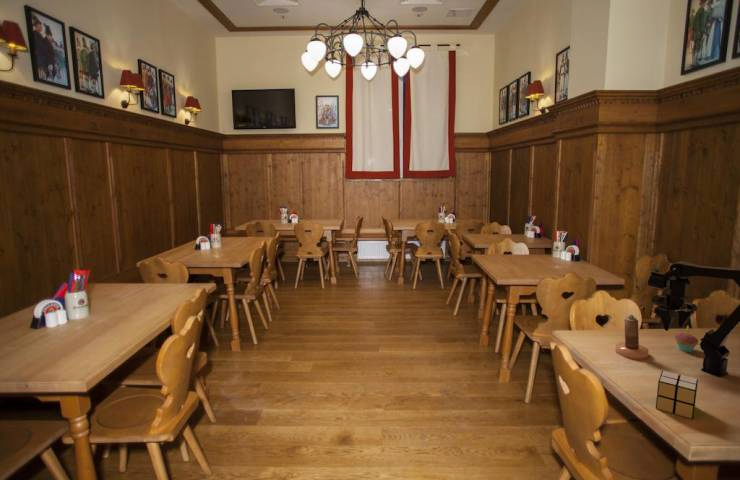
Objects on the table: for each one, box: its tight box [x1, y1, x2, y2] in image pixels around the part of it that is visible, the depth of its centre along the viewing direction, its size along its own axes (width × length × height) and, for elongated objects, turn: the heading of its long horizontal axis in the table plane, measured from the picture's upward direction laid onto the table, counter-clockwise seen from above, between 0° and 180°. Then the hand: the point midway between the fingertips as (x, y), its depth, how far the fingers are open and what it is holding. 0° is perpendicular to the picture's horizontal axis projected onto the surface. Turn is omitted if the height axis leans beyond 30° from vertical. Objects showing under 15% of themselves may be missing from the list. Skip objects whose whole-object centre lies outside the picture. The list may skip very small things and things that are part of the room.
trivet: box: [614, 341, 649, 361], centre depth 187 cm, size 12×12×3 cm
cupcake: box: [674, 325, 699, 353], centre depth 189 cm, size 9×8×12 cm
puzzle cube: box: [655, 370, 699, 420], centre depth 144 cm, size 10×10×10 cm
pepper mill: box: [624, 314, 640, 349], centre depth 185 cm, size 5×5×14 cm
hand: (673, 328), depth 180 cm, fingers open, 9 cm apart
